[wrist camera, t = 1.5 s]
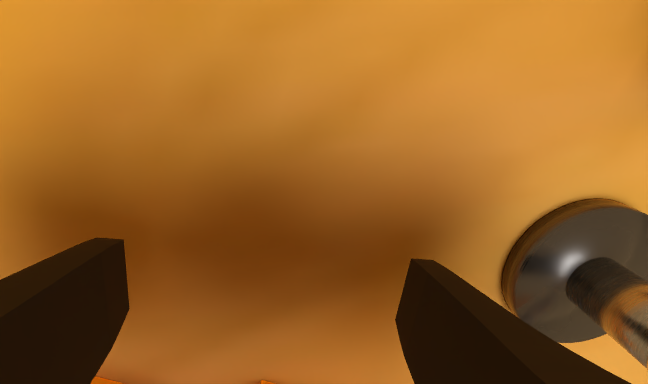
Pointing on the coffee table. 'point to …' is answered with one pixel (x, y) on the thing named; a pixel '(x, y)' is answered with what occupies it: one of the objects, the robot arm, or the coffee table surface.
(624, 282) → the ball stud
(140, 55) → the coffee table surface
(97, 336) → the robot arm
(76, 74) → the coffee table surface
